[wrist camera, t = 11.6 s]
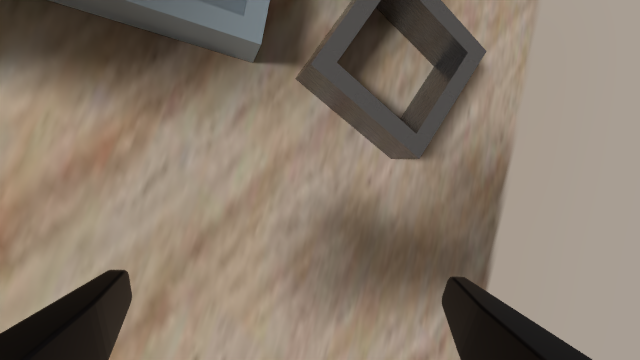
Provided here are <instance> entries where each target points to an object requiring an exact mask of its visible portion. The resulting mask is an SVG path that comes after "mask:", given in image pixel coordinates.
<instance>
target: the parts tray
mask: <svg viewBox="0 0 640 360" xmlns="http://www.w3.org/2000/svg"><path fill="white" fill-rule="evenodd" d="M49 1H52V2H55V3H59V4H62V5H65V6H68V7H72V8H75V9H78V10H82V11H85V12H88V13H91V14H95V15H98V16H101V17H104V18H108V19H111V20H114V21H118V22H121V23H124V24H127V25H131V26H134V27H137V28H141V29H144V30H147V31H150V32H154V33H157V34H160V35H164V36H167V37H170V38H173V39H177V40H180V41H183V42H187V43H190V44H193V45H196V46H200V47H203V48H206V49H210V50H213V51H216V52H219V53H223V54H226V55H229V56H232V57H236V58H239V59H242V60H246V61H249V62H252V63H253V61H254V59H255V57H256V55H257V52H258V50H259V48H260V46H261V43H262V38H263V33H264V27H265V22H266V17H267V12H268V7H269V2H270V0H49Z"/></svg>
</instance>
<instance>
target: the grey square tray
mask: <svg viewBox="0 0 640 360" xmlns="http://www.w3.org/2000/svg"><path fill="white" fill-rule="evenodd" d="M376 7H377V8H378V9H379V10H380V11H381V13H382V14H383V15H384V16H385V17H386V18H387V19H388V20H389V21H390V22H391V23H392V24H393V25H394V26H395V27H396V28H397V29H398V30H399V31H400V32H401V33H402V34H403V35H404V36H405V37H406V38H407V39H408V40H409V41H410V42H411V43H412V44H413V45H414V46H415V47H416V48H417V49H418V50H419V51H420V52H421V53H422V54H423V55H424V56H425V57H426V58H427V59H428V60H429V61H430V62H431V63H432V64H433V65H434V66H435V67H434V68H433V70H432V71H431V73H430V74H429V76H428V77H427V79H426V80H425V82H424V83H423V85H422V87H421V88H420V90H419V91H418V93H417V94H416V96H415V97H414V99H413V100H412V102H411V104H410V105H409V107H408V108H407V110H406V111H405V113H404V114H403V116H402V117H401V119H399V118H398V117H397V116H396V115H395V114H394V113H393V112H391V111H390V110H389V109H388V108H387V107H386V106H385V105H384V104H383V103H381V102H380V101H379V100H378V99H377V98H376V97H375V96H374V95H372V94H371V93H370V92H369V91H368V90H367V89H366V88H365V87H364V86H362V85H361V84H360V83H359V82H358V81H357V80H356V79H355V78H354V77H352V76H351V75H350V74H349V73H348V72H347V71H346V70H345V69H344V68H342V67H341V66H340V65H339V64H338V63H337V62H338V60H339V59H340V57H341V56H342V54H343V53H344V52H345V50H346V49H347V47H348V46H349V44H350V43H351V42H352V40H353V39H354V37H355V36H356V35H357V33H358V32H359V30H360V29H361V27H362V26H363V25H364V23H365V22H366V20H367V19H368V18H369V16H370V15H371V13H372V12H373V10H374V9H375V8H376ZM485 53H486V50H485V49H484V48H483V47H482V46H481V45H480V44H479V42H478V41H477V40H476V39H475V38H474V37H473V36H472V35H471V33H470V32H469V31H468V30H467V29H466V28H465V27H464V26H463V24H462V23H461V22H460V21H459V20H458V19H457V18H456V17H455V15H454V14H453V13H452V12H451V11H450V10H449V9H448V8H447V7H446V5H445V4H444V3H443V2H442V1H441V0H352V1H351V2H350V4H349V5H348V6H347V8H346V9H345V11H344V12H343V13H342V15H341V16H340V17H339V19H338V20H337V22H336V23H335V24H334V26H333V27H332V29H331V30H330V31H329V33H328V34H327V35H326V37H325V38H324V40H323V41H322V42H321V44H320V45H319V47H318V48H317V49H316V51H315V52H314V53H313V55H312V56H311V58H310V59H309V60H308V62H307V63H306V65H305V66H304V67H303V69H302V70H301V72H300V73H299V74H298V76H297V77H296V78H295V79H296V80H298V81H299V82H300V83H301V84H302V85H304V86H305V87H306V88H307V89H308V90H310V91H311V92H312V93H313V94H314V95H315V96H317V97H318V98H319V99H320V100H321V101H323V102H324V103H325V104H326V105H327V106H329V107H330V108H331V109H332V110H333V111H335V112H336V113H337V114H338V115H339V116H341V117H342V118H343V119H344V120H345V121H347V122H348V123H349V124H350V125H351V126H353V127H354V128H355V129H356V130H357V131H359V132H360V133H361V134H362V135H363V136H365V137H366V138H367V139H368V140H369V141H371V142H372V143H373V144H374V145H375V146H377V147H378V148H379V149H380V150H381V151H383V152H384V153H385V154H386V155H387V156H388V157H390V158H391V159H419V158H420V157H421V155H422V154H423V152H424V150H425V149H426V147H427V146H428V144H429V142H430V141H431V139H432V138H433V136H434V134H435V133H436V131H437V130H438V128H439V126H440V125H441V123H442V122H443V120H444V118H445V117H446V115H447V114H448V112H449V110H450V109H451V107H452V106H453V104H454V102H455V101H456V99H457V98H458V96H459V94H460V93H461V91H462V90H463V88H464V86H465V85H466V83H467V82H468V80H469V78H470V77H471V75H472V74H473V72H474V70H475V69H476V67H477V66H478V64H479V62H480V61H481V59H482V58H483V56H484V54H485Z"/></svg>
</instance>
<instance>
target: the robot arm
mask: <svg viewBox="0 0 640 360" xmlns="http://www.w3.org/2000/svg"><path fill="white" fill-rule="evenodd" d="M131 300H132V292H131V286H130V280H129V274H128V272H127V271H126V270H108V271H106V272H105V273H103V274H101V275H100V276H98V277H96V278H94V279H93V280H91V281H89V282H88V283H86V284H84V285H83V286H81V287H79V288H77V289H76V290H74V291H72V292H71V293H69V294H67V295H65V296H64V297H62V298H60V299H59V300H57V301H55V302H53V303H52V304H50V305H48V306H47V307H45V308H43V309H41V310H40V311H38V312H36V313H35V314H33V315H31V316H29V317H28V318H26V319H24V320H23V321H21V322H19V323H18V324H16V325H14V326H12V327H11V328H9V329H7V330H6V331H4V332H2V333H0V360H109V357H110V355H111V352H112V350H113V347H114V345H115V342H116V340H117V337H118V334H119V332H120V329H121V327H122V324H123V322H124V319H125V316H126V314H127V311H128V309H129V306H130V303H131ZM442 306H443V309H444V312H445V315H446V318H447V321H448V324H449V327H450V330H451V333H452V336H453V339H454V342H455V345H456V348H457V350H458V353H459V356H460V358H461V360H592V359H590V358H589V357H587V356H586V355H584V354H583V353H581V352H580V351H578V350H576V349H575V348H573V347H572V346H570V345H569V344H567V343H565V342H564V341H563V340H561V339H559V338H558V337H556V336H555V335H553V334H552V333H550V332H548V331H547V330H546V329H544V328H542V327H541V326H539V325H538V324H536V323H535V322H533V321H531V320H530V319H528V318H527V317H525V316H524V315H522V314H521V313H519V312H518V311H516V310H514V309H513V308H511V307H510V306H508V305H507V304H505V303H504V302H502V301H500V300H499V299H497V298H496V297H494V296H493V295H491V294H490V293H488V292H487V291H485V290H483V289H482V288H480V287H479V286H477V285H476V284H474V283H473V282H471V281H469V280H468V279H466V278H465V277H450V278H449V279H448V281H447V284H446V287H445V290H444V293H443V296H442Z"/></svg>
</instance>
